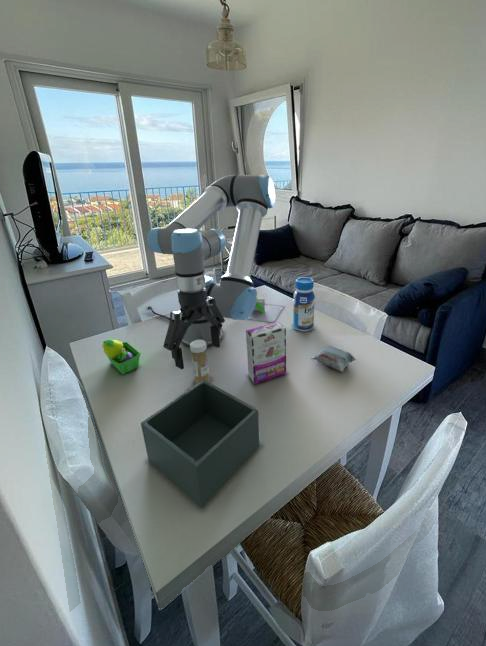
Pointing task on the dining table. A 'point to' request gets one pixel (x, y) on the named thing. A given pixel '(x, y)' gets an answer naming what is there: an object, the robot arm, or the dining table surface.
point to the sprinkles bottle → (199, 361)
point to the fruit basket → (121, 355)
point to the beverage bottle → (303, 305)
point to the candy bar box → (266, 352)
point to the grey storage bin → (201, 439)
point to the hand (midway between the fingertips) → (198, 356)
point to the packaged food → (334, 357)
